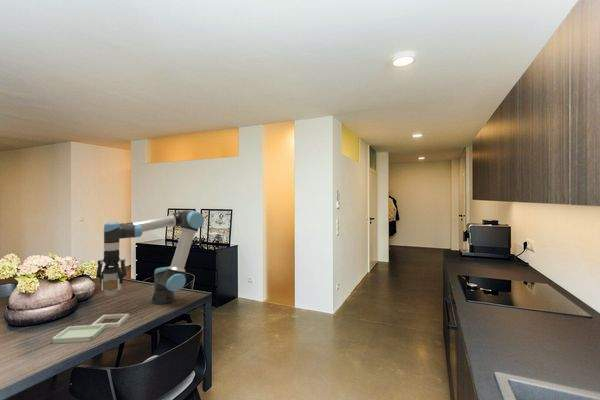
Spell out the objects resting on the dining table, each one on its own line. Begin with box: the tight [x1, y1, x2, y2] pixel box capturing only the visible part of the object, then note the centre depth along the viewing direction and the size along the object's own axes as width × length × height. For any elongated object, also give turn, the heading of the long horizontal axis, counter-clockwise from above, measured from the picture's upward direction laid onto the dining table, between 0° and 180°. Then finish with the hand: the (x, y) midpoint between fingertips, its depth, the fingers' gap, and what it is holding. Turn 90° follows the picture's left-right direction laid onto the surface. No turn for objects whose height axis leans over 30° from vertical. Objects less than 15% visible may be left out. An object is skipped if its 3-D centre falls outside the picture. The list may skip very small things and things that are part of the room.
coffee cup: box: [102, 266, 119, 297], centre depth 164 cm, size 8×8×15 cm
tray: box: [50, 324, 107, 345], centre depth 148 cm, size 18×14×2 cm
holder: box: [90, 313, 130, 329], centre depth 164 cm, size 14×14×2 cm
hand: (111, 289), depth 164 cm, fingers closed on coffee cup, 7 cm apart
